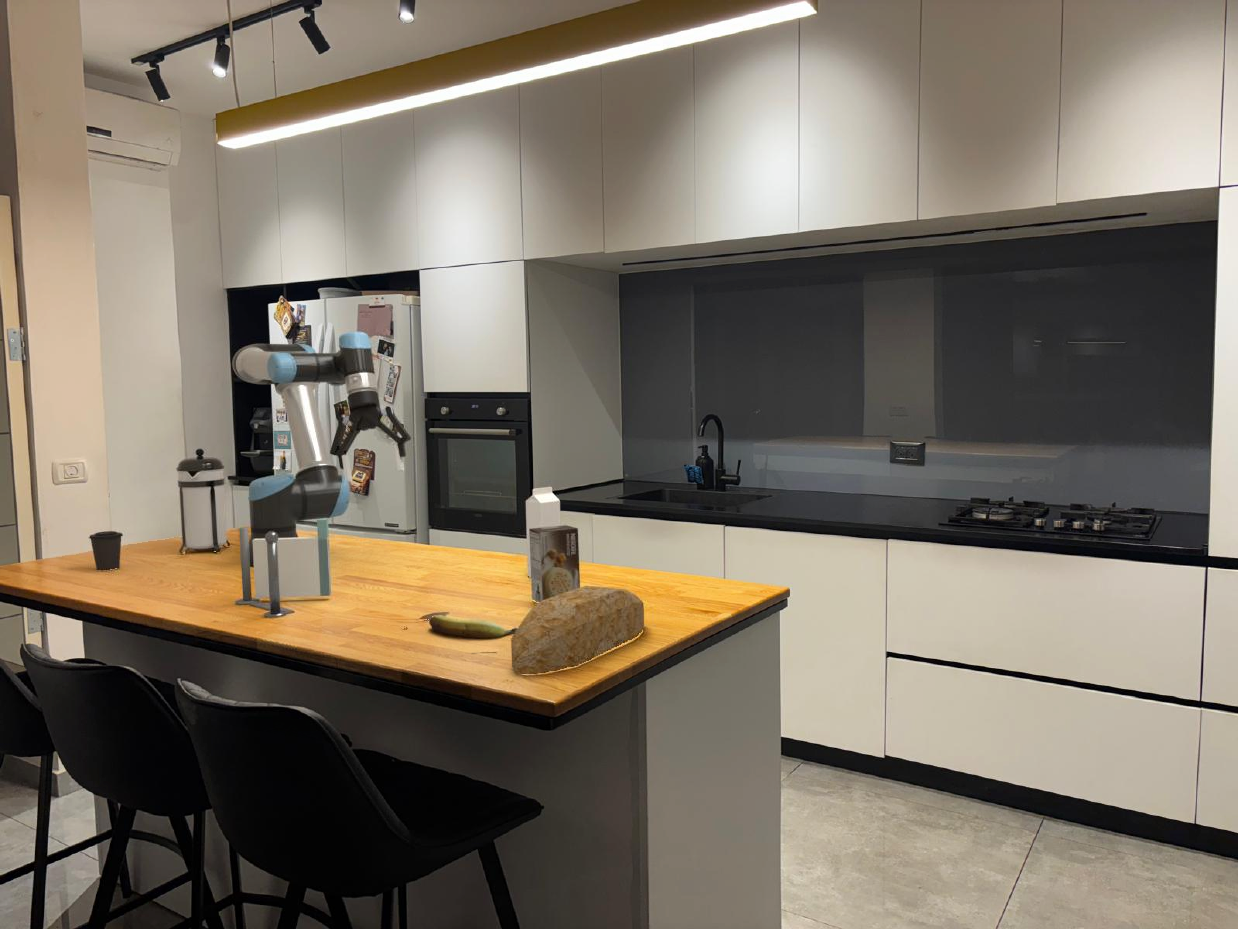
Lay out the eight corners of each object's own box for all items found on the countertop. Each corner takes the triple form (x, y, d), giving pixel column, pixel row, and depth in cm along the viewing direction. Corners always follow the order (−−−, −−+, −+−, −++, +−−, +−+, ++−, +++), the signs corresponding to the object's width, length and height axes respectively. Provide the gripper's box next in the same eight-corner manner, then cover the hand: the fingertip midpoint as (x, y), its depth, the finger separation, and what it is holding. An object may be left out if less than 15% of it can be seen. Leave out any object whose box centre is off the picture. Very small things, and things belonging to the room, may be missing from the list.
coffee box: (569, 595, 211) (567, 524, 209) (581, 601, 205) (579, 528, 204) (530, 601, 207) (528, 527, 205) (542, 606, 201) (540, 531, 200)
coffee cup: (114, 572, 248) (112, 534, 247) (84, 572, 248) (81, 534, 247) (131, 566, 256) (129, 529, 255) (101, 566, 256) (99, 529, 255)
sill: (231, 602, 209) (230, 601, 209) (252, 598, 213) (252, 597, 213) (278, 615, 197) (278, 613, 197) (300, 611, 201) (300, 609, 201)
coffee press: (245, 549, 279) (239, 447, 276) (189, 557, 267) (183, 451, 265) (219, 543, 291) (214, 445, 288) (165, 550, 279) (159, 449, 277)
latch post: (260, 615, 197) (255, 531, 196) (279, 611, 201) (275, 529, 199) (271, 618, 194) (267, 533, 193) (290, 614, 198) (286, 531, 196)
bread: (550, 682, 151) (548, 620, 150) (496, 672, 157) (494, 612, 156) (660, 630, 182) (660, 578, 181) (612, 623, 187) (611, 573, 186)
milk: (561, 577, 232) (560, 487, 230) (542, 581, 227) (540, 489, 225) (546, 573, 236) (544, 485, 234) (526, 577, 232) (525, 487, 230)
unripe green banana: (348, 645, 176) (347, 625, 175) (436, 612, 200) (436, 594, 200) (510, 666, 161) (510, 644, 161) (584, 627, 186) (583, 608, 185)
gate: (241, 600, 209) (237, 522, 207) (244, 598, 211) (240, 521, 209) (329, 597, 210) (326, 519, 209) (331, 595, 212) (328, 518, 211)
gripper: (308, 400, 235) (321, 484, 233) (404, 380, 233) (418, 464, 230) (321, 405, 243) (333, 486, 240) (414, 385, 240) (428, 467, 238)
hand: (375, 476), depth 235 cm, fingers open, 13 cm apart
